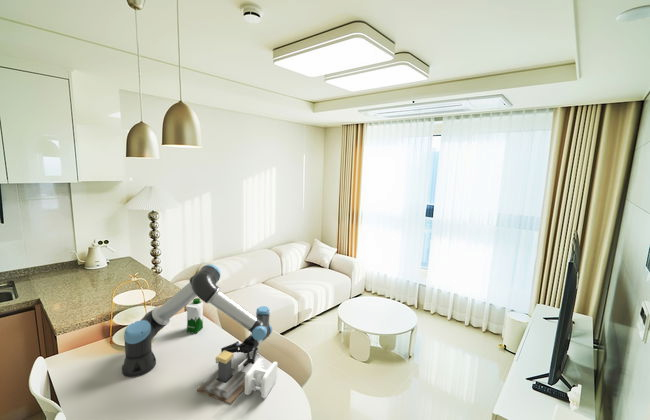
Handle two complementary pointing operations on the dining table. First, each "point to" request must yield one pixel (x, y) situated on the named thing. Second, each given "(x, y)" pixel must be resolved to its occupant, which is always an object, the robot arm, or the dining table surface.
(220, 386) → the socket
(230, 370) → the plug
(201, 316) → the milk carton
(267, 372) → the cable organizer
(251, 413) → the dining table surface
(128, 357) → the robot arm
